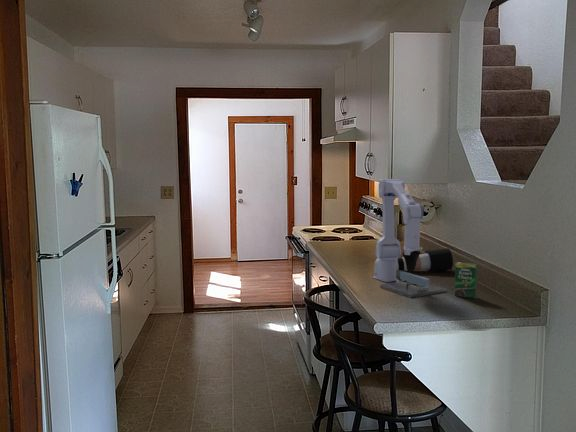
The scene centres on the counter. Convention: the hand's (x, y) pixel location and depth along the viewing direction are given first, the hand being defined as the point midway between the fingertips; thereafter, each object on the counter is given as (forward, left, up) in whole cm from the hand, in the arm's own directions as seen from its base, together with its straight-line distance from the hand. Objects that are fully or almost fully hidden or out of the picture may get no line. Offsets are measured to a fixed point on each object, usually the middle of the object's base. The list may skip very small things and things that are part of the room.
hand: (411, 270), depth 208 cm
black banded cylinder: (-30, +30, -10) cm, 44 cm away
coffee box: (+12, +17, -10) cm, 23 cm away
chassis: (-6, +7, -10) cm, 14 cm away
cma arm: (-6, +6, -6) cm, 11 cm away
